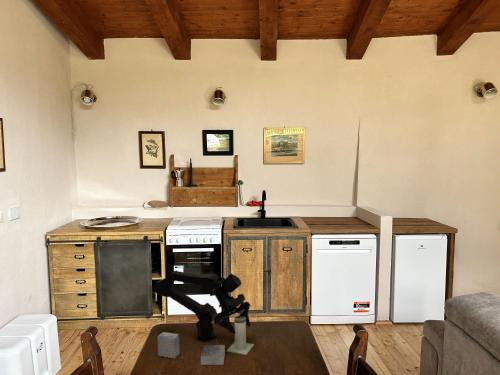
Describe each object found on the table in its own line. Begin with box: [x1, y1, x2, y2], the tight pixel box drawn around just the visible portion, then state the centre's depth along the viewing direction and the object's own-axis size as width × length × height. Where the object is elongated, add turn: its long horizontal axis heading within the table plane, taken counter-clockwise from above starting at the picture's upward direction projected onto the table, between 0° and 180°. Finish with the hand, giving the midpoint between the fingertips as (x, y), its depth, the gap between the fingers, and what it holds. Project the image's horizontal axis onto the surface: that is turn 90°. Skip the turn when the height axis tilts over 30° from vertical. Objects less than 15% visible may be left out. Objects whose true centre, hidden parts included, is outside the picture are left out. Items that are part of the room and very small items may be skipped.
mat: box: [226, 341, 255, 356], centre depth 155 cm, size 9×9×1 cm
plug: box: [234, 315, 247, 350], centre depth 155 cm, size 5×5×13 cm
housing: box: [200, 344, 226, 366], centre depth 147 cm, size 9×9×4 cm
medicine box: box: [157, 331, 180, 359], centre depth 150 cm, size 8×4×9 cm, turn 71°
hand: (242, 330), depth 154 cm, fingers open, 9 cm apart
